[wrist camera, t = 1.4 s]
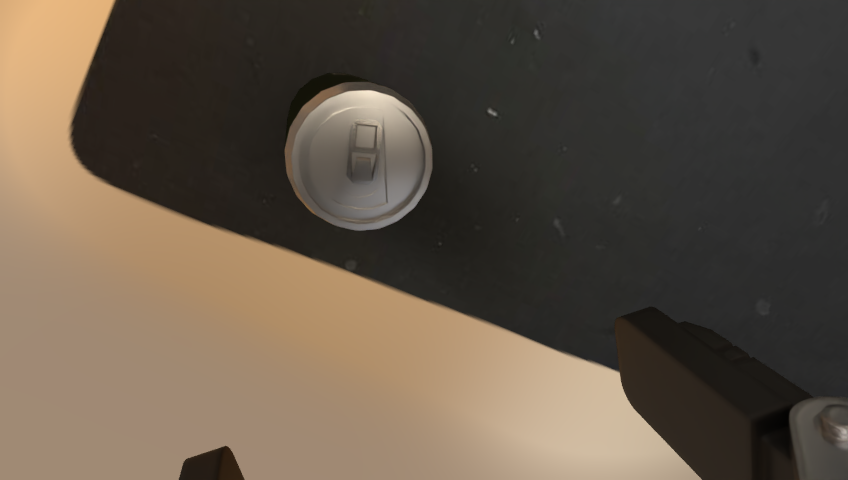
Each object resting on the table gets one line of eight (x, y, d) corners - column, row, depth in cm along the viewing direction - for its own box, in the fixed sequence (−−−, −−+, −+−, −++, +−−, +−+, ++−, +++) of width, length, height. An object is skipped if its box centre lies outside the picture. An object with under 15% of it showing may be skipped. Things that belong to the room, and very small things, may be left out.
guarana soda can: (290, 65, 29) (289, 72, 18) (392, 79, 31) (449, 93, 19) (284, 167, 31) (279, 232, 20) (381, 176, 32) (428, 241, 21)
